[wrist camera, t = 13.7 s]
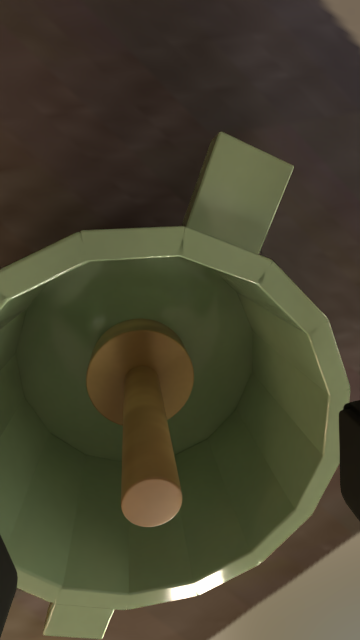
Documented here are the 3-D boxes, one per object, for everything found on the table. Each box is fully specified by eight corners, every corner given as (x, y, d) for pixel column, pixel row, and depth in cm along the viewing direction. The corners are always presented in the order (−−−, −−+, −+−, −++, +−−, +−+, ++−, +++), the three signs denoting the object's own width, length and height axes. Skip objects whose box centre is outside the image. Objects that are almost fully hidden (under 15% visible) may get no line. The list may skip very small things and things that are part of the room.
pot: (322, 232, 17) (462, 235, 10) (195, 518, 21) (230, 668, 14) (59, 119, 14) (-13, 4, 7) (-32, 481, 18) (-139, 650, 11)
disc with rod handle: (200, 334, 17) (274, 441, 8) (168, 415, 18) (206, 585, 9) (107, 305, 16) (82, 396, 7) (78, 394, 17) (28, 565, 8)
